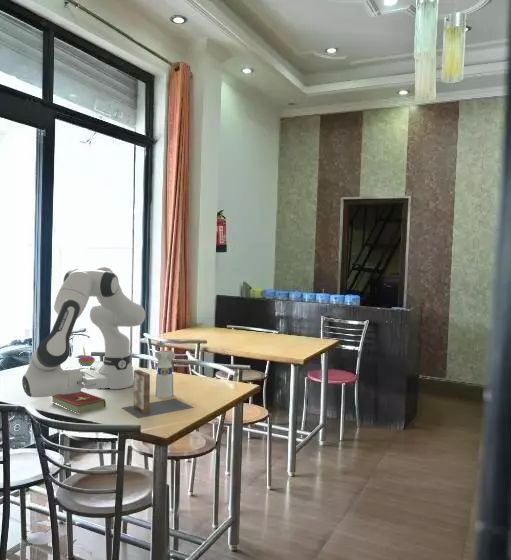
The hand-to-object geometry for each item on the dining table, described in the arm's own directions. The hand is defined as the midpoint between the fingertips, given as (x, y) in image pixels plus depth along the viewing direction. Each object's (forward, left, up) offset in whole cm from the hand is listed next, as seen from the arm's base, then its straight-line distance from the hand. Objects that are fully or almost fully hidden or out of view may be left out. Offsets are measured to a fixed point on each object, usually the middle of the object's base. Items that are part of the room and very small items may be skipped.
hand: (111, 375), depth 180 cm
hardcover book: (-22, -5, -16) cm, 28 cm away
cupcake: (-90, +22, -16) cm, 94 cm away
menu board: (0, +12, -15) cm, 19 cm away
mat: (0, +19, -16) cm, 25 cm away
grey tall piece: (-15, +30, -16) cm, 37 cm away
